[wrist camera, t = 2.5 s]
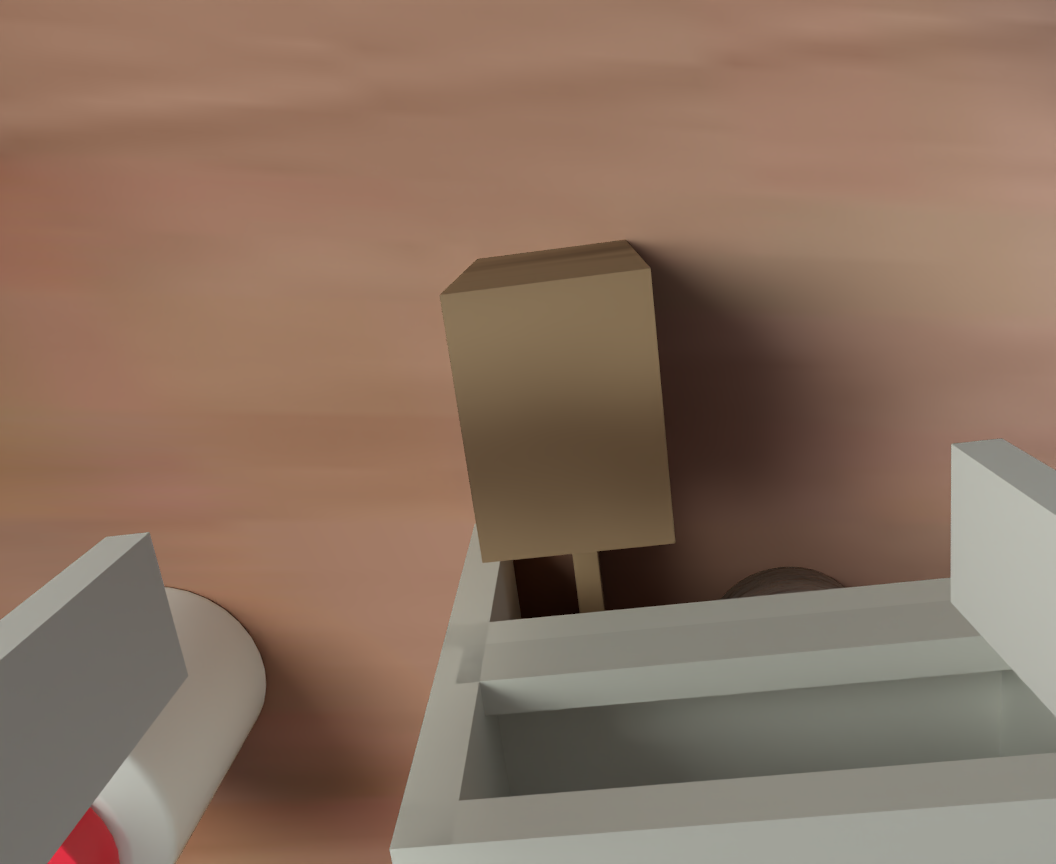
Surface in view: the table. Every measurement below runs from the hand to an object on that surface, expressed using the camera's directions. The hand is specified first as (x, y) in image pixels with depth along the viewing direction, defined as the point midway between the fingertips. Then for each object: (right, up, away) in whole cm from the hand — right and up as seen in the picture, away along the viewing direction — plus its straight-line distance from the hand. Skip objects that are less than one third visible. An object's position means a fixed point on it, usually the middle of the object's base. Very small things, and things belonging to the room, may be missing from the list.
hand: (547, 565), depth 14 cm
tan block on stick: (+2, -1, +17) cm, 17 cm away
